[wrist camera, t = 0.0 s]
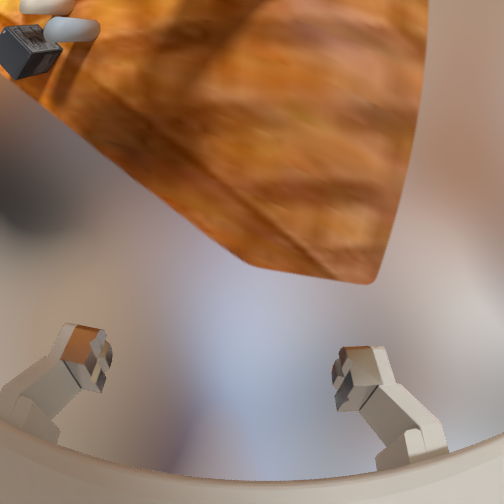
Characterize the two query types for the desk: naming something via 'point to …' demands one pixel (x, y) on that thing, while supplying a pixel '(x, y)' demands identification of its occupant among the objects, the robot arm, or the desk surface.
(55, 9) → the cream post
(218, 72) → the desk surface
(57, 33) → the slate post
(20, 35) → the small box
